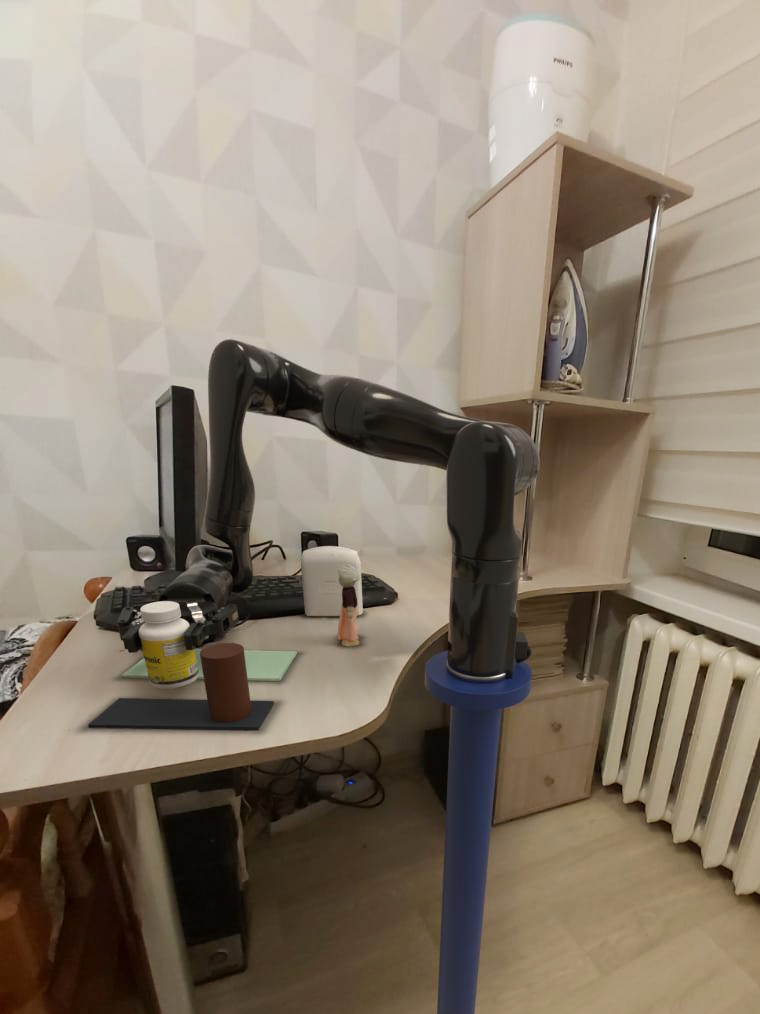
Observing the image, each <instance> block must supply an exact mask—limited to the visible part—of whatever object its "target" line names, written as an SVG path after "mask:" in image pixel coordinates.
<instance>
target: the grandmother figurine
mask: <svg viewBox="0 0 760 1014" xmlns="http://www.w3.org/2000/svg"><path fill="white" fill-rule="evenodd" d="M338 574H339V583H340V585H341V586H343V589H342V609H341V613H340V616H339V619H338V626H337V639H338V640H342V641H341V645H342V646H343V647H356V646H359V645H360V641H359V638H360V637H359V635H358V625H357V605H358V604H357V597H356V591H355V588H354V585H355V583H356V581H359V580H360V578H361V579H362V574H361V575H360V574H359V573H358V571H357V569H356V568H354V567H353V566H351V565H348V564H344V565H342V566H340V568H339V569H338Z"/></svg>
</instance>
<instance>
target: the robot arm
mask: <svg viewBox="0 0 760 1014" xmlns="http://www.w3.org/2000/svg"><path fill="white" fill-rule="evenodd" d="M207 374H208V375H207V397H208V399H207V403H208V434H209V435H208V437H209V439H208V440H209V480H208V488H207V495H206V502H205V509H204V516H203V529H204V531H205V532H206V533H207V535H209V536H210V537H213V538H214V539H216V540H218V541H220V542H222V543H224V544H226V545H227V546H228V547H229V549H230V550H229V549H224V548H221V547H216V546H213V545H208V544H198V545H195V546H193V547H192V548H191V549H190V550H189V552H188V554H187V556H186V560H185V571H184V572H181V573H180V574H179V575H178V576H177V577H176V578H175V579H173V580H172V581H171V582H170V583H169V584H168V585H167V586H166V587H165V588H164V589H163V590H162V591H161V593H160V595H159V597H158V599H157V602H160V601H172V602H176V603H178V604H179V606H180V611H181V617H180V618H181V619H184V620H186V621H187V622H188V623H189V625H190V626H189V627H188V629H187V630H186V632H185V633H184V641H185V646H186V650H194V649H196V647H199V646H201V645H202V644H203V642H204V640H207V639H209V636H214V638H222V637H223V638H224V637H225V636H226V635H227V634H228V633H229V632H230V631H231V630H232V629H233V628H234V627H235V626H236V625H238V624H239V622H240V620H239V612H238V605H237V604H235V603H230V604H227V601H228V598H229V597H230V595H231V593H235V594H238V593H239V594H240V593H243V592H245V591H246V590H247V589H248V588H249V587H250V586H251V584H252V582H253V578H254V565H253V560H252V553H251V543H250V541H251V540H250V536H251V535H250V533H251V525H252V521H253V515H254V509H255V503H256V487H255V481H254V478H253V475H252V472H251V468H250V466H249V464H248V460H247V457H246V453H245V449H244V443H243V429H244V423H245V419H246V414H247V413H252V414H257V415H262V416H268V417H269V416H270V417H278V418H285V419H288V420H293V421H298V422H302V423H306V424H308V425H311V426H313V427H314V428H316V429H317V430H319V431H320V432H321V433H322V434H324V436H326V438H329V439H330V440H331V441H333V442H335V443H337V444H339V445H341V446H343V447H346V448H349V449H351V450H353V451H356V452H359V453H362V454H365V455H367V456H371V457H374V458H379V459H384V460H388V461H394V462H397V463H398V462H399V463H403V464H411V465H412V464H413V465H419V466H427V467H433V468H437V469H439V470H442V471H443V470H444V471H446V475H445V477H446V478H445V479H446V481H445V483H446V493H445V494H446V524H447V529H448V532H449V535H450V539H451V560H450V563H451V564H450V585H449V586H450V588H449V608H448V609H449V610H448V611H449V612H448V633H447V641H446V647H447V651H448V653H447V665H446V668H447V671H448V673H449V674H450V675H452V676H453V677H455V678H457V679H460V680H463V681H466V682H472V683H493V682H498V681H501V680H504V679H512V678H513V668H514V659H516V660H515V661H516V662H517V663H518V664H519V663H521V662H523V661H524V662H525V661H527V660H528V659H529V658H530V657H531V655H532V648H531V647H530V646H529V642H528V639H527V637H526V634H525V631H518V624H519V614H518V612H517V604H518V603H517V602H518V594H519V593H518V592H519V581H520V571H521V559H522V551H523V536H522V534H521V532H520V531H519V530H517V528H516V525H515V520H514V517H515V516H514V514H515V512H514V511H515V496H517V495H519V494H521V493H523V492H525V491H526V490H527V489H528V488H530V487H531V486H532V485H533V483H534V482H535V480H536V479H537V477H538V475H539V472H540V467H541V459H540V453H539V449H538V446H537V445H536V443H535V441H534V440H533V439H532V437H531V436H530V435H529V434H528V433H527V432H526V430H523V428H521V427H519V426H518V425H515V424H513V423H507V422H500V421H489V420H484V419H483V420H482V419H479V418H473V417H468V416H464V415H460V414H456V413H453V412H449V411H447V410H444V409H442V408H440V407H437V406H436V405H433V404H431V403H429V402H427V401H424V400H422V399H419V398H416V397H414V396H411V395H409V394H406V393H404V392H401V391H399V390H397V389H396V390H395V389H393V388H390V387H388V386H385V385H383V384H379V383H376V382H373V381H369V380H366V379H364V378H359V377H355V376H351V375H350V376H349V375H343V374H322V373H318V372H316V371H313V370H310V369H308V368H306V367H303V366H301V365H299V364H297V363H296V362H293V361H292V360H289V359H287V358H286V357H284V356H281V355H280V354H277V353H276V352H274V351H271V350H268V349H265V348H262V347H259V346H256V345H253V344H250V343H247V342H244V341H241V340H237V339H234V338H229V339H223V340H222V341H220V342H219V343H218V344H217V345H216V346H215V347H214V348H213V350H212V353H211V356H210V359H209V365H208V373H207ZM144 623H146V622H144V621H143V619H142V615H141V611H138V610H137V609H135V607H134V606H125V607H123V608H122V609H121V611H120V613H119V615H118V617H117V620H116V625H117V629H118V633H119V638H120V641H121V642H123V647H124V649H125V650H127V652H128V653H130V654H131V653H132V654H134V653H138V651H140V650H141V649H142V646H141V642H140V638H139V629H140V627H141V626H142V625H143V624H144Z"/></svg>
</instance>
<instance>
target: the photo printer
mask: <svg viewBox="0 0 760 1014" xmlns="http://www.w3.org/2000/svg"><path fill="white" fill-rule="evenodd" d="M300 558H301V559H300V568H301V569H300V571H301V583H302V595H303V605H304V614H305V615H306V616H307V617H340V613H341V609H342V589H343V586H341V585H340V583H339V574H338V569H339V568H340V566H342V565H344V564H348V565H351V566H353V567H354V568H356V569H357V571H358V573H359V574H360V575H361V576H362V564H361V562H362V561H361V559H360V557H359V553H358V551H357V550H354V549H351V548H348V547H343V546H336V545H324V546H316V547H311V548H308V549H305V550H303V551H302V554H301V557H300ZM362 585H363V584H362V577H361V578H360V580H359V581H356V583H355V585H354V588H355V591H356V597H357V604H358V605H357V616H361V615H362V614H363V613H364V608H363V586H362Z"/></svg>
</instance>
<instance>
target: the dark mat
mask: <svg viewBox="0 0 760 1014" xmlns="http://www.w3.org/2000/svg"><path fill="white" fill-rule="evenodd" d="M250 702H251V713H250V714H249V715H248V716H247V717H245V718H243V719H241V720H238V721H234V722H227V723H222V722H216V721H214V720H212V719H211V718H210V714H209V708H208V701H207V699H192V698H191V699H188V698H187V699H186V698H139V697H138V698H135V697H134V698H133V697H132V698H131V697H119V698H117V700H116V701H114V702H113V703H112V704H110V705H109V706H108V707H107V708H106V709H104V710H103V711H102V712H101V713H100V714H98V716H97V717H95V718H93V720H91V721H90V722H89V723H88V724H87V727H88V728H89V729H150V730H151V729H158V730H159V729H160V730H224V731H225V730H226V731H227V730H229V731H230V730H231V731H235V730H236V731H258V730H259V729H260V728H261V727H262V726H261V725H263V723H264V721H265V720H266V718H267V716H268V715H269V713H270V711H271V710H272V708H273V707H274V704H275V701H274V700H250Z"/></svg>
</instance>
